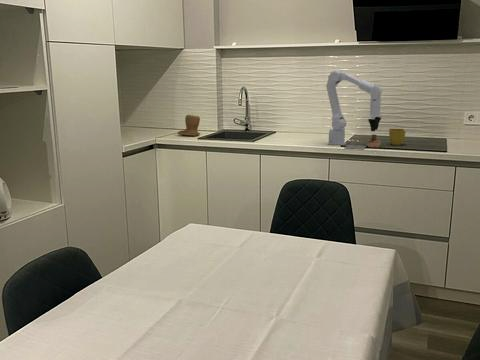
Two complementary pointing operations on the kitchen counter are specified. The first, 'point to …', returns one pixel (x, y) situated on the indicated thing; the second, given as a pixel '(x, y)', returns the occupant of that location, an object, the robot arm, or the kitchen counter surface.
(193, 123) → the brown hat
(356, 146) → the mat
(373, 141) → the lid
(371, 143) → the bowl
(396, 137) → the flower pot
